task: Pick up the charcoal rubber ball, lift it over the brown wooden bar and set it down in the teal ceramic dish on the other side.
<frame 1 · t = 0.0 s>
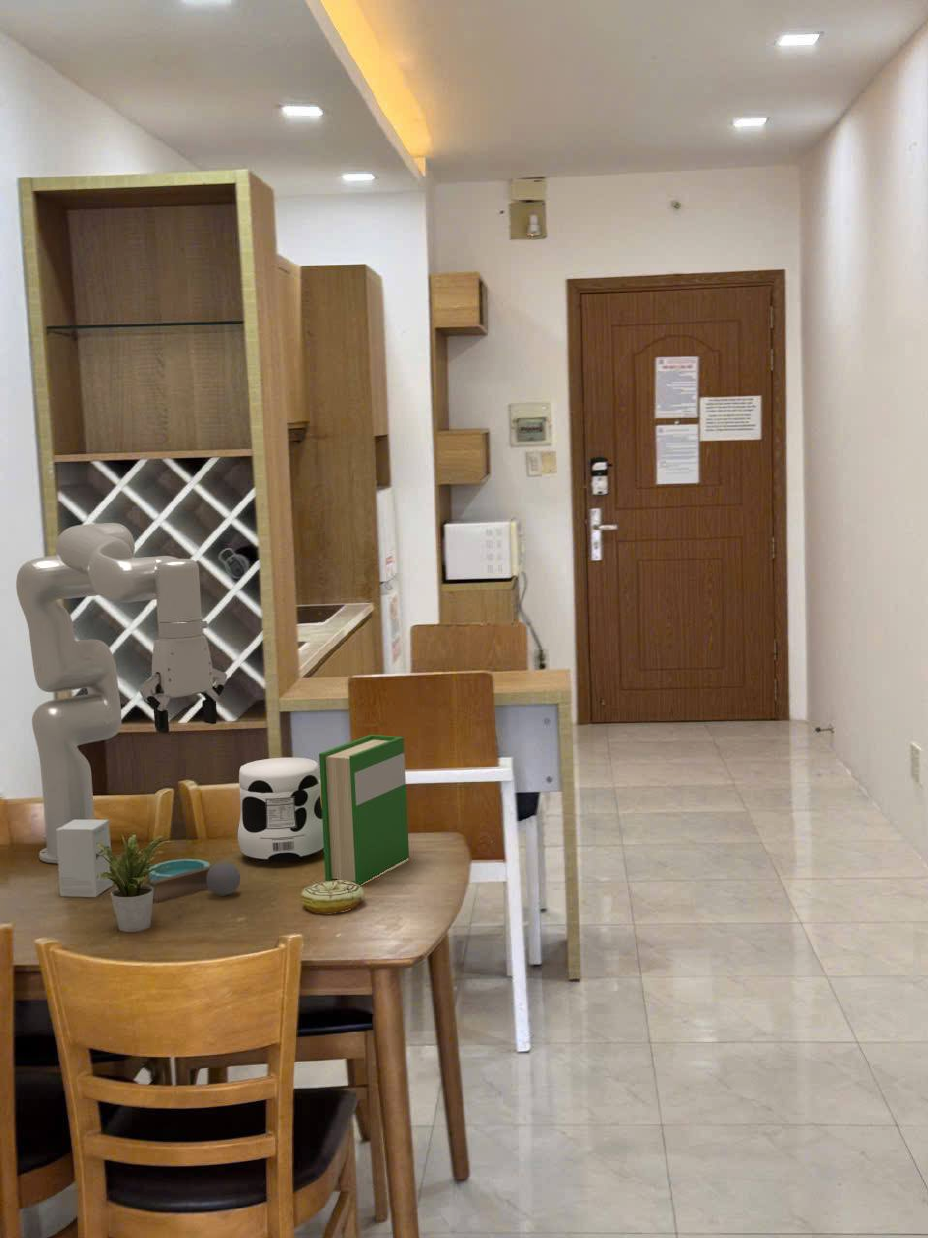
hand: (186, 727, 253), 31 cm above the table, tool pointing down, fingers open, 9 cm apart
charcoal ball: (223, 878, 259), point 3 cm above the table
milk container: (283, 857, 283), on the table
decorated donut: (333, 908, 251), on the table
teal dish: (180, 879, 270), on the table
hardback book: (368, 872, 271), on the table
house plant: (140, 929, 243), on the table
supplement box: (87, 892, 265), on the table
brown wooden bar: (190, 892, 262), on the table
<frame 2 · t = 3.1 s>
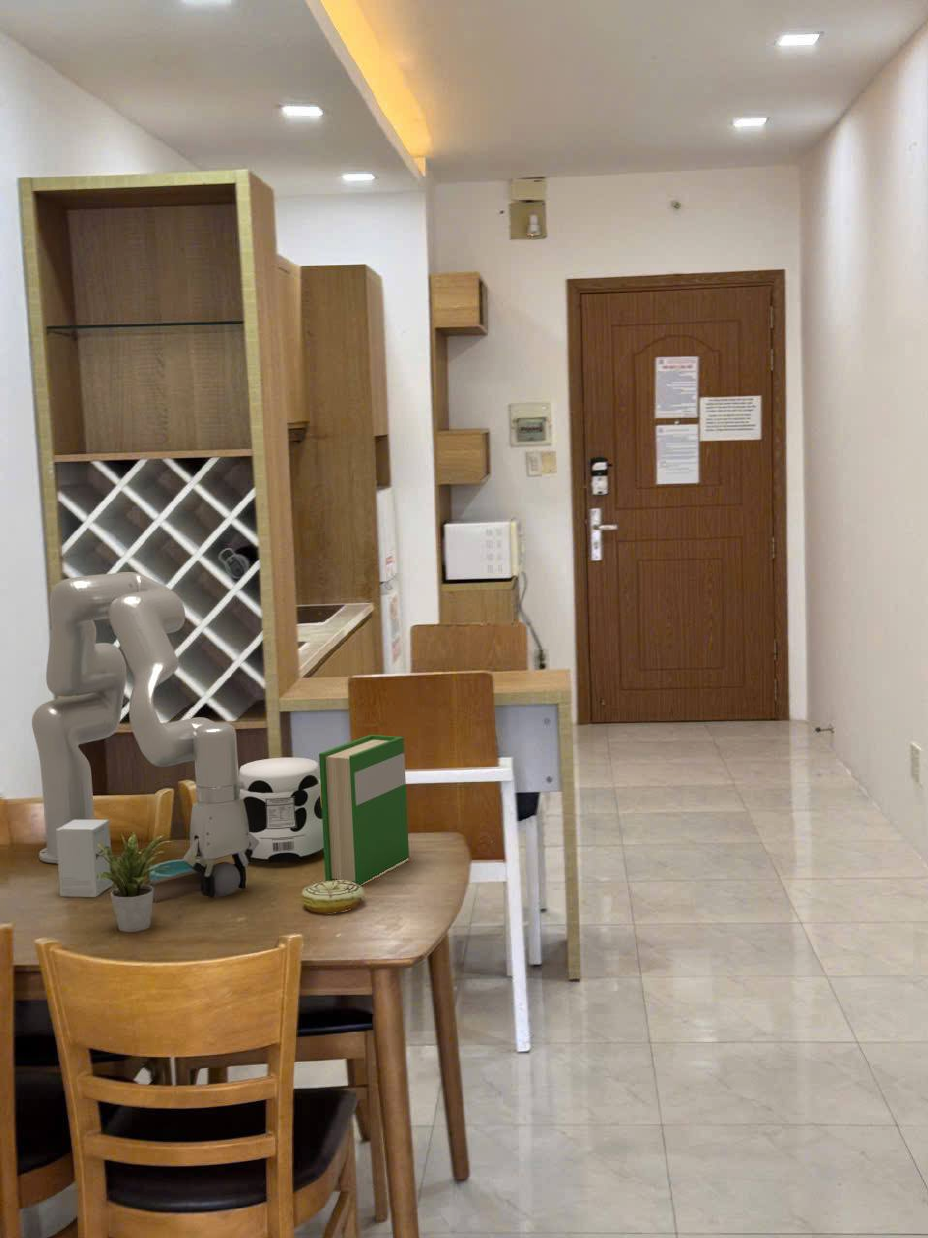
hand: (224, 890, 259), 1 cm above the table, tool pointing down, fingers closed on charcoal ball, 6 cm apart
charcoal ball: (223, 879, 259), point 3 cm above the table, touching gripper
everything else where it was.
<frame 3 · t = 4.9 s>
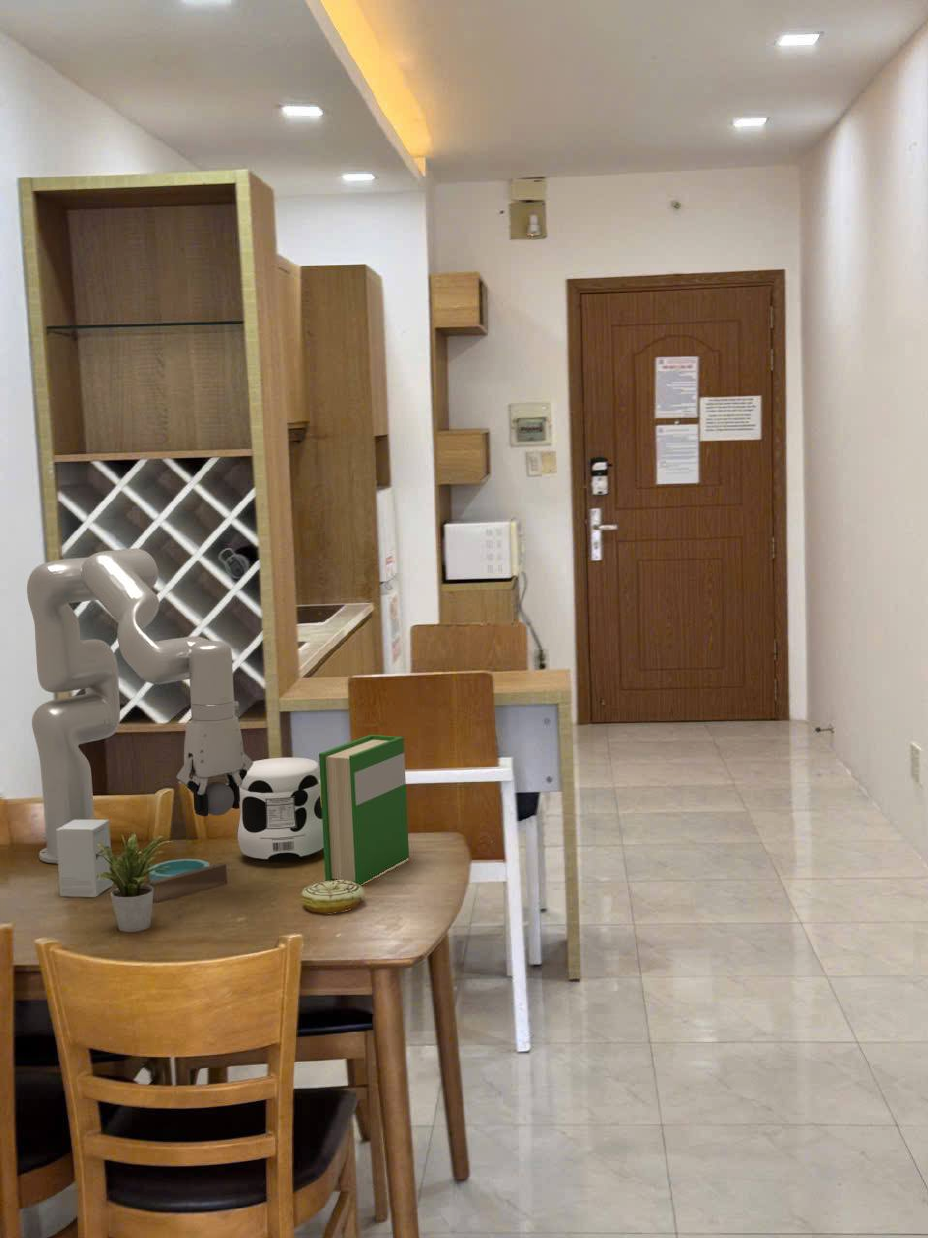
hand: (217, 810, 258), 15 cm above the table, tool pointing down, fingers closed on charcoal ball, 5 cm apart
charcoal ball: (217, 798, 258), point 18 cm above the table, touching gripper
everything else where it was.
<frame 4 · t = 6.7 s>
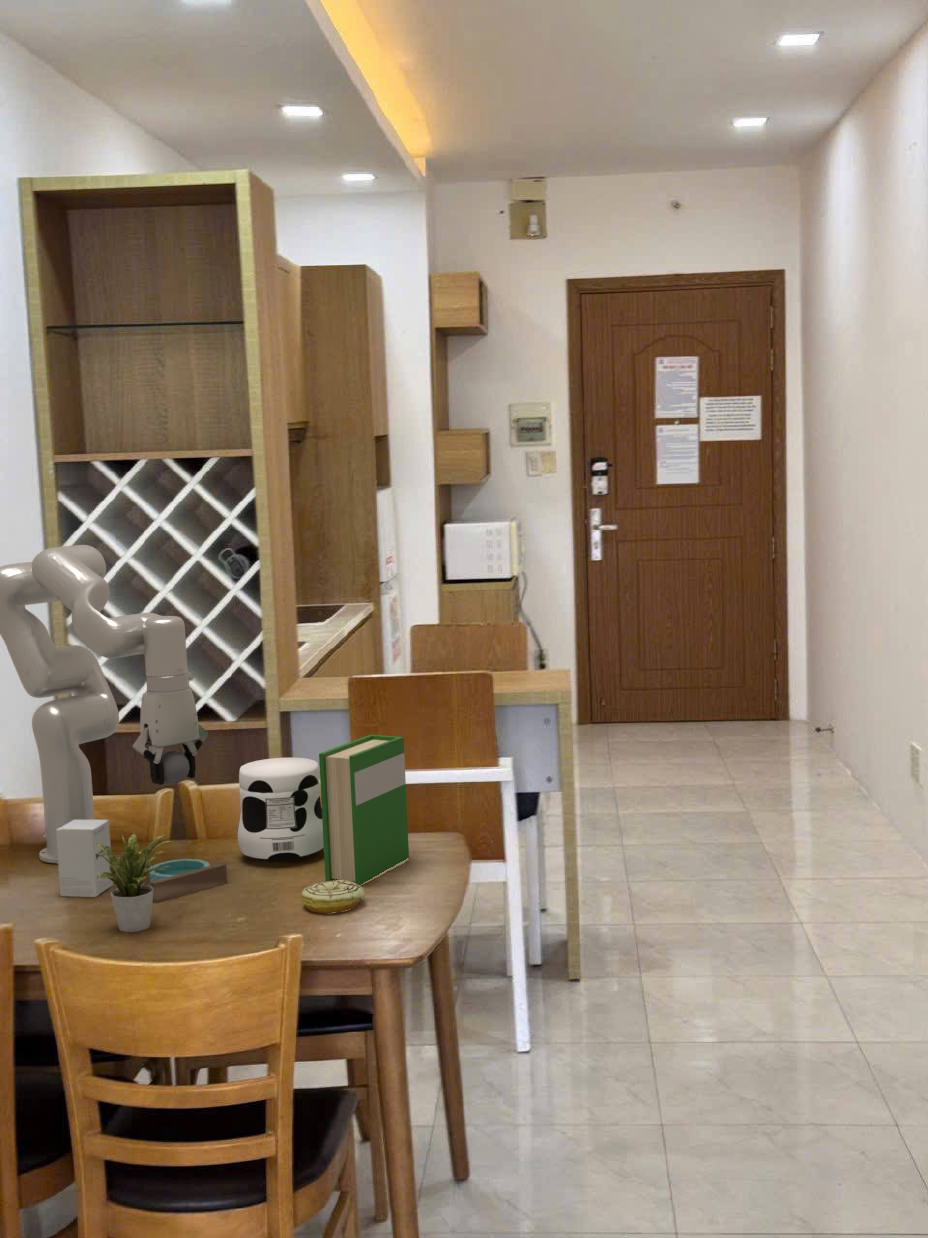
hand: (173, 779, 268), 19 cm above the table, tool pointing down, fingers closed on charcoal ball, 5 cm apart
charcoal ball: (173, 767, 267), point 21 cm above the table, touching gripper
everything else where it was.
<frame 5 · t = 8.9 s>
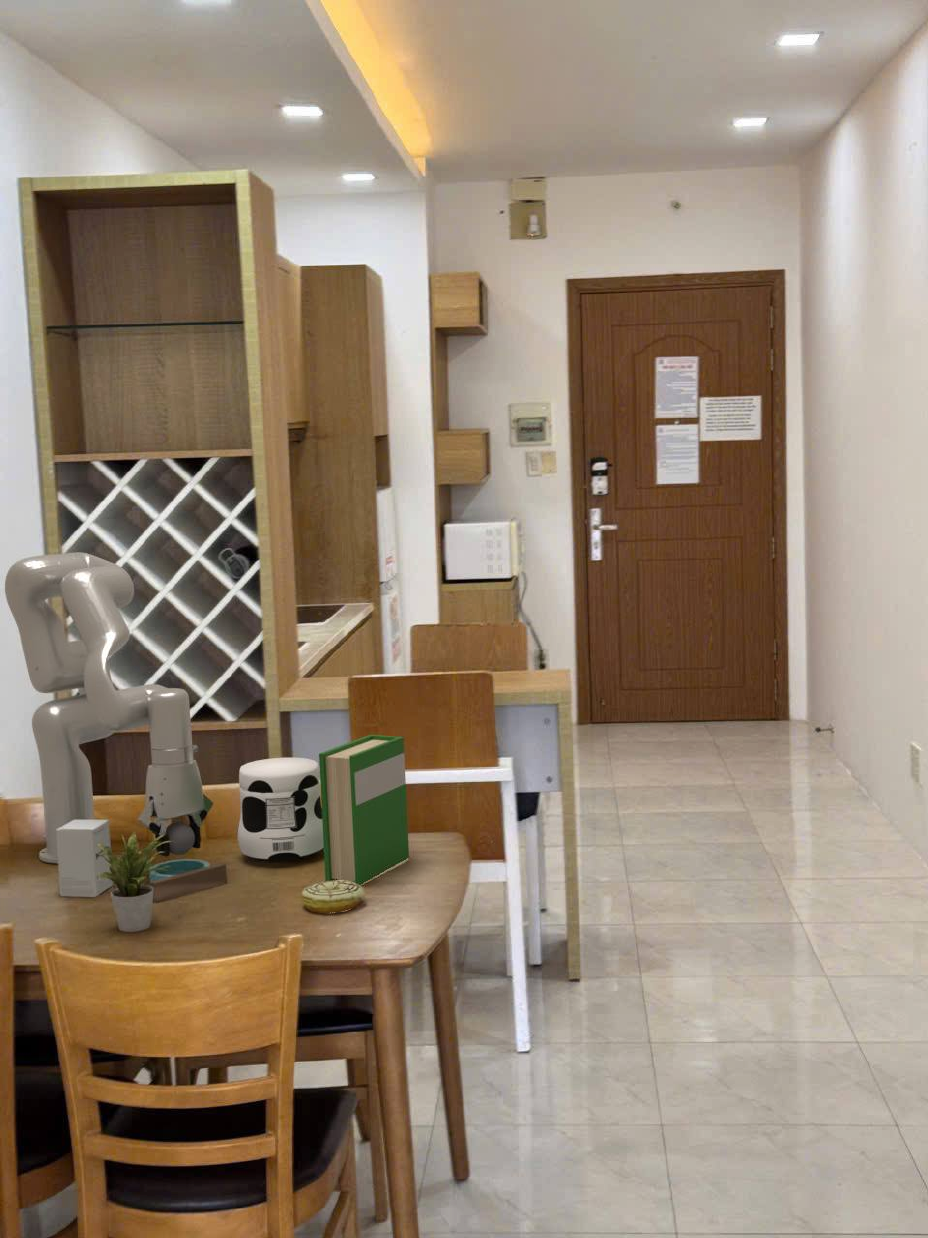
hand: (179, 850, 269), 6 cm above the table, tool pointing down, fingers closed on charcoal ball, 5 cm apart
charcoal ball: (178, 838, 269), point 8 cm above the table, touching gripper
everything else where it was.
when the fingers open (3 cm above the table, at t = 10.4 s): charcoal ball drops 1 cm, resting on teal dish.
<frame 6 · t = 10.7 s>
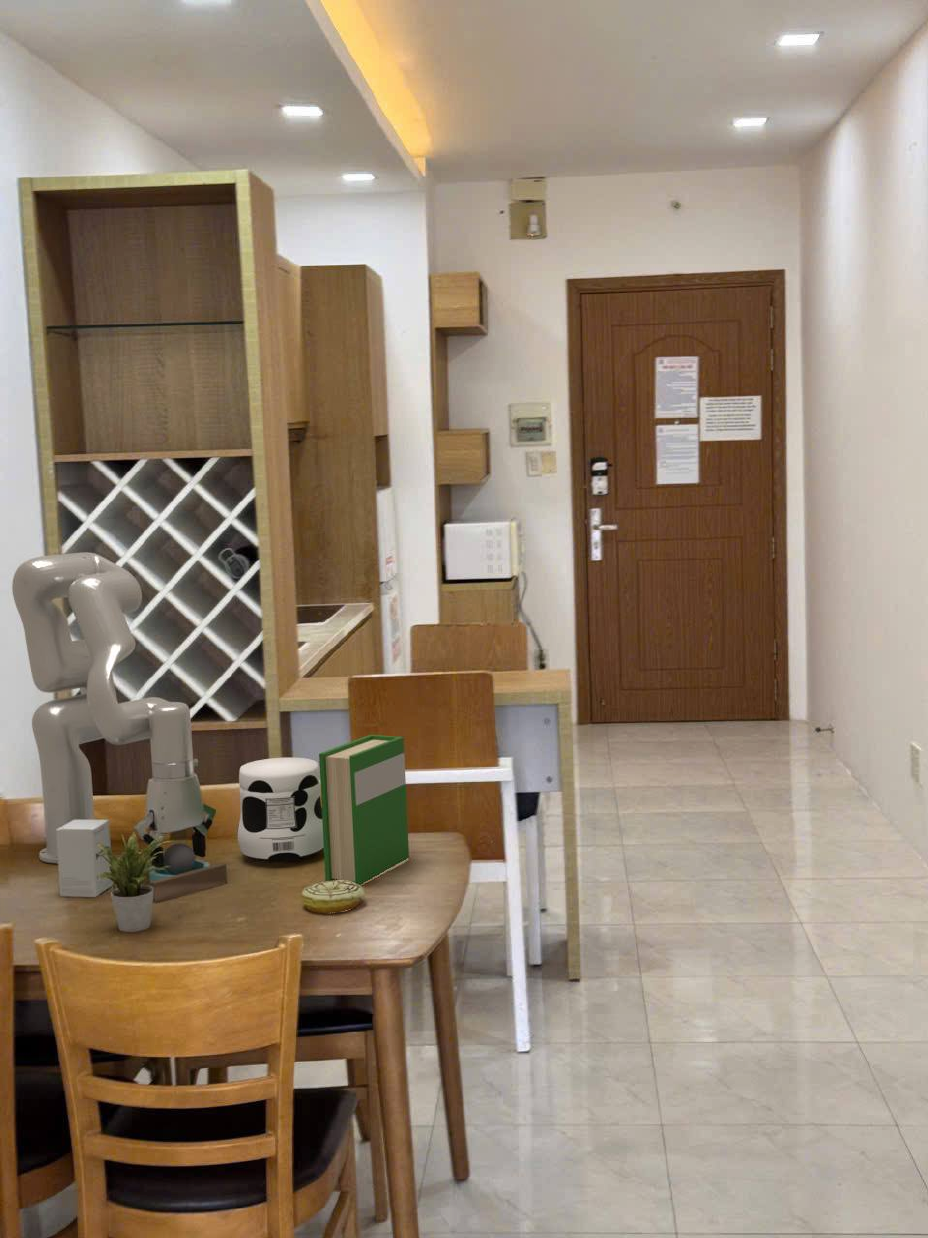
hand: (178, 861, 270), 4 cm above the table, tool pointing down, fingers open, 8 cm apart
charcoal ball: (179, 859, 270), point 4 cm above the table, touching teal dish
everything else where it was.
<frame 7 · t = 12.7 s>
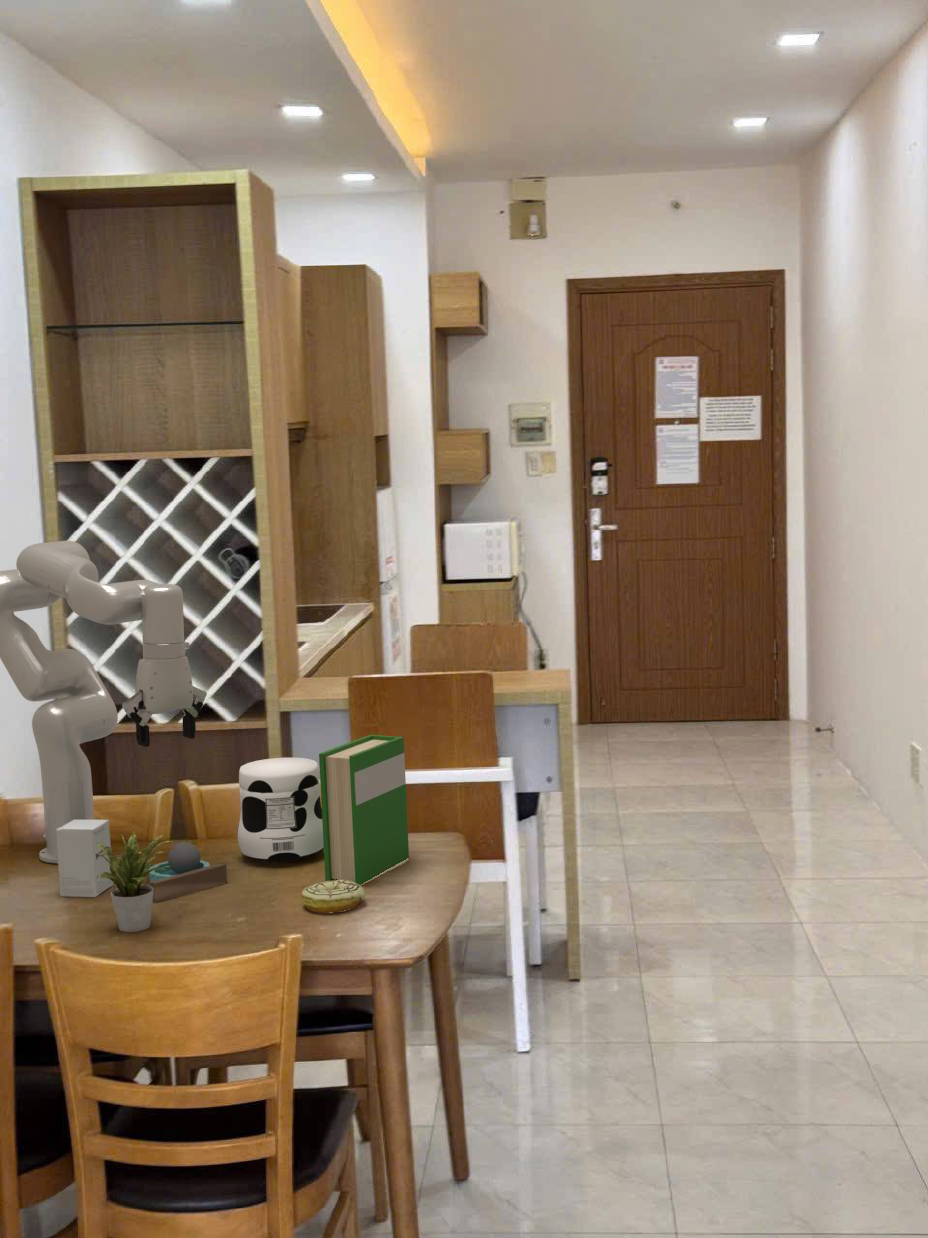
hand: (166, 741, 271), 25 cm above the table, tool pointing down, fingers open, 9 cm apart
charcoal ball: (184, 858, 270), point 4 cm above the table, tilted 23°, touching teal dish
everything else where it was.
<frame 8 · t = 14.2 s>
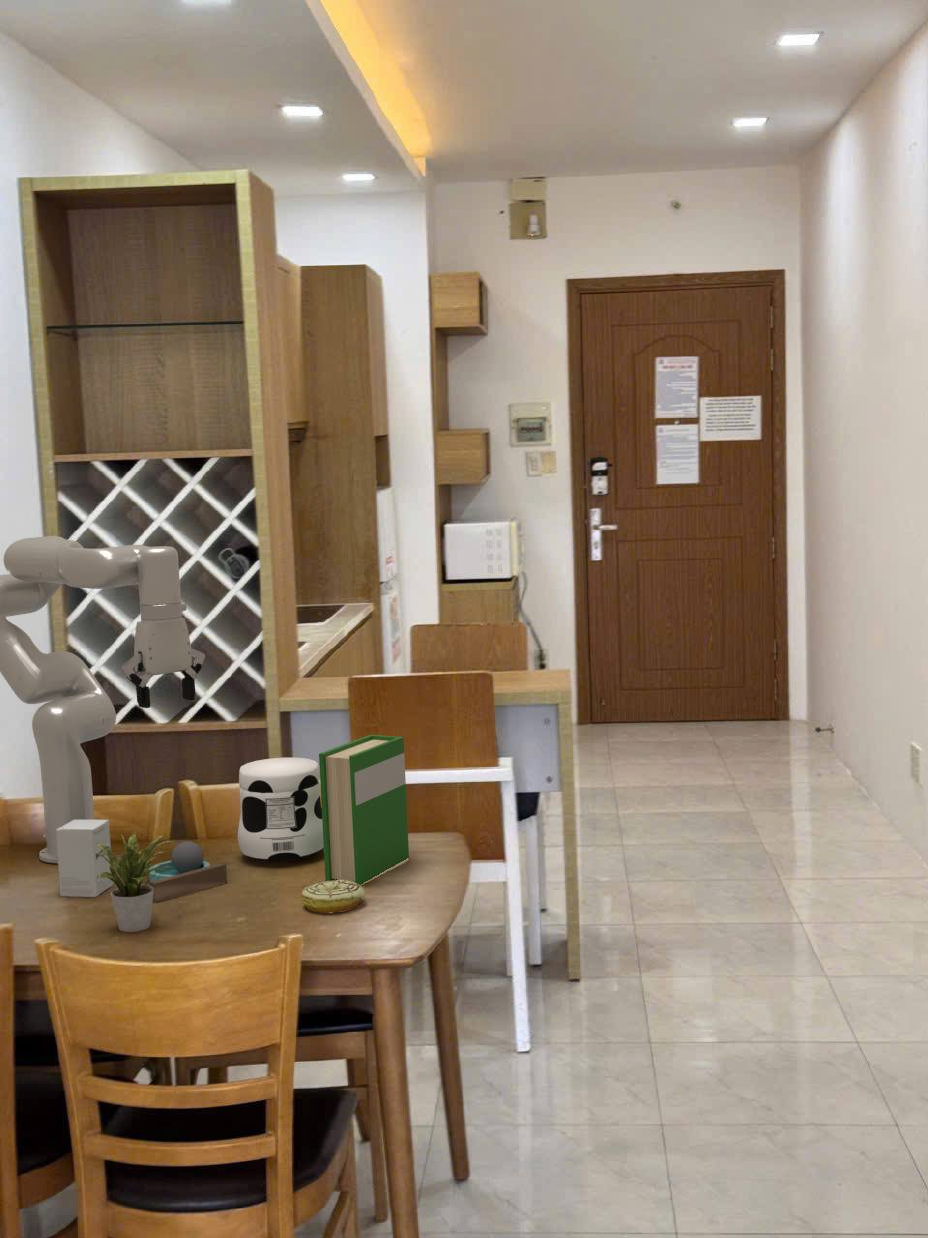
hand: (167, 703, 272), 32 cm above the table, tool pointing down, fingers open, 9 cm apart
charcoal ball: (187, 857, 271), point 4 cm above the table, tilted 37°, touching teal dish
everything else where it was.
at the end: charcoal ball 1.8 cm off-centre on the teal dish, point 3.8 cm above the teal dish's base; charcoal ball touching teal dish; the gripper is holding nothing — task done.
